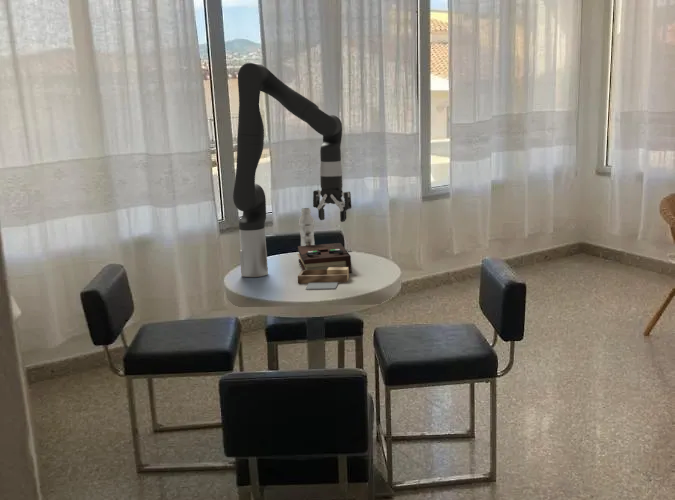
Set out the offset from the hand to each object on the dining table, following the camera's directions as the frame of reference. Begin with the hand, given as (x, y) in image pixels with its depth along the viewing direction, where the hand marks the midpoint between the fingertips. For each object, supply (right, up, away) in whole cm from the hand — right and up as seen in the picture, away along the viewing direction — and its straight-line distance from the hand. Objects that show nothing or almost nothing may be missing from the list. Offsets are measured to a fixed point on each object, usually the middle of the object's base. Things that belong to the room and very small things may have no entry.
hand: (332, 220), depth 248 cm
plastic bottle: (-10, -14, +36) cm, 40 cm away
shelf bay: (-3, -21, 0) cm, 21 cm away
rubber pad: (-3, -22, -9) cm, 24 cm away
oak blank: (+2, -21, 0) cm, 21 cm away
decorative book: (-3, -17, +19) cm, 26 cm away
